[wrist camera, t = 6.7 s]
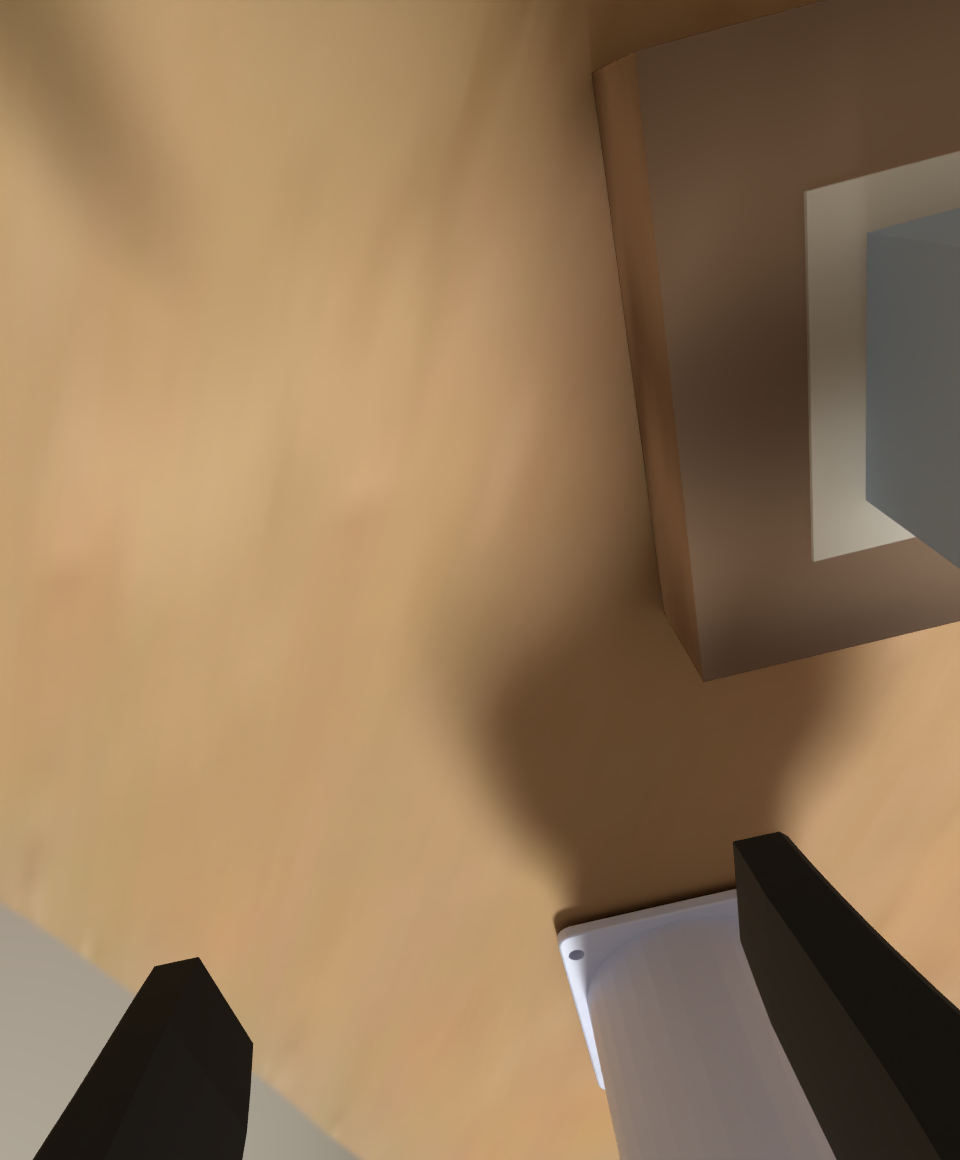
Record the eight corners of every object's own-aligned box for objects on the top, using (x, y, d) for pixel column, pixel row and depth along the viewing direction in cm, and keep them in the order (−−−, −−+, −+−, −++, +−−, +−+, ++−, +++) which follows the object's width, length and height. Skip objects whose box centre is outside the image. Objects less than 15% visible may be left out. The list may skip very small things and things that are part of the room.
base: (1129, 500, 19) (1246, 555, 17) (664, 613, 20) (704, 684, 17) (1252, -106, 14) (1464, -175, 11) (591, 73, 14) (636, 50, 11)
